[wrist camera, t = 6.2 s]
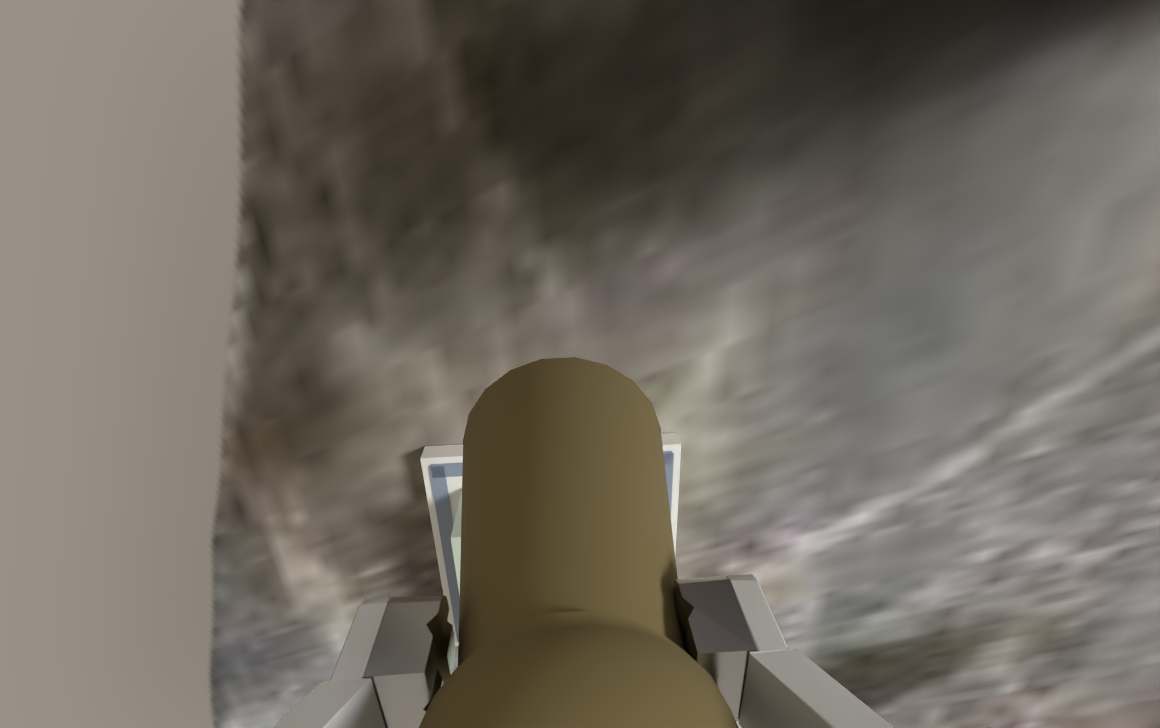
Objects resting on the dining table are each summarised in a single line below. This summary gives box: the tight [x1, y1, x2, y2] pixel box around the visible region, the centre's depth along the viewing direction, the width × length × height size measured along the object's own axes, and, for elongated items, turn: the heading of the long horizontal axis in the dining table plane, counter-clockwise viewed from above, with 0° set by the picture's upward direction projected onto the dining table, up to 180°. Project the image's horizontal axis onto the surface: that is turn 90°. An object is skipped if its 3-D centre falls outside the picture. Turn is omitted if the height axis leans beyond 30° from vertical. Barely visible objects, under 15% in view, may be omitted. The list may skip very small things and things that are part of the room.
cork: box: [419, 357, 738, 728], centre depth 11 cm, size 6×6×11 cm
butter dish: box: [420, 433, 681, 646], centre depth 30 cm, size 14×14×5 cm
